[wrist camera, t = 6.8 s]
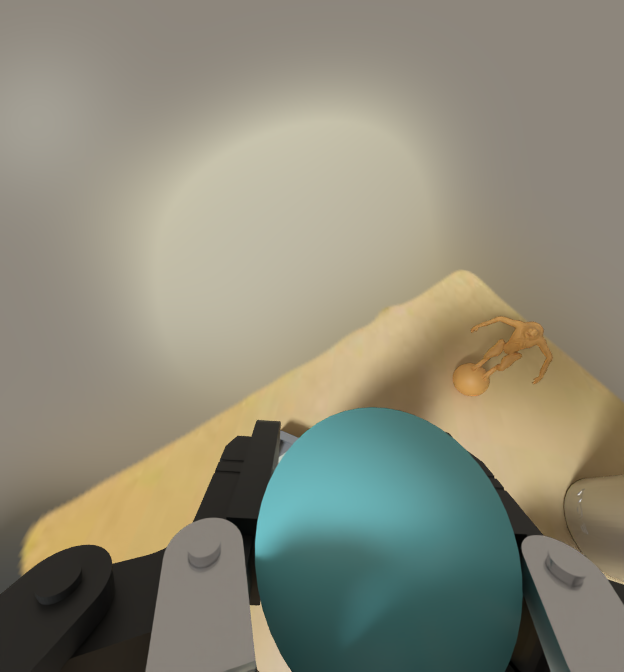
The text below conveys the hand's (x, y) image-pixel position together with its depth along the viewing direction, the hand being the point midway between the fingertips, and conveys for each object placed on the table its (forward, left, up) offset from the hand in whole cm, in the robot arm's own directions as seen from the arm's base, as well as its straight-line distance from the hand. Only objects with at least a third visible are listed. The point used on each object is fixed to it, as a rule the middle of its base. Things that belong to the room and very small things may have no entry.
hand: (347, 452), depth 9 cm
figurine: (-15, -19, -26) cm, 35 cm away
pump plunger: (-1, +2, -6) cm, 6 cm away
